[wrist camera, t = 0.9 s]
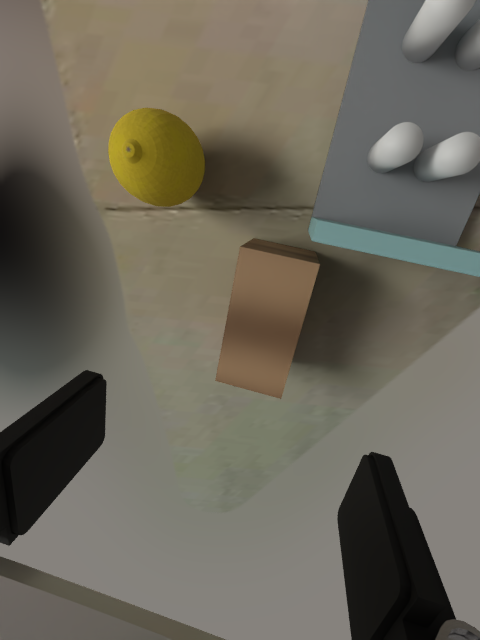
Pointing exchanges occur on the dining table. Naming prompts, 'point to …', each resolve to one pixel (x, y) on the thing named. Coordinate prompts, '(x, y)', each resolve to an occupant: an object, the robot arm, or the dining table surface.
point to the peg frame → (407, 137)
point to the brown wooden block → (266, 315)
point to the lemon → (156, 157)
